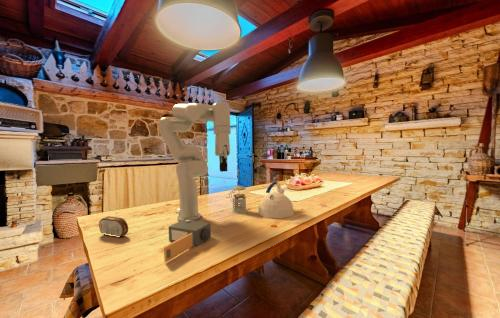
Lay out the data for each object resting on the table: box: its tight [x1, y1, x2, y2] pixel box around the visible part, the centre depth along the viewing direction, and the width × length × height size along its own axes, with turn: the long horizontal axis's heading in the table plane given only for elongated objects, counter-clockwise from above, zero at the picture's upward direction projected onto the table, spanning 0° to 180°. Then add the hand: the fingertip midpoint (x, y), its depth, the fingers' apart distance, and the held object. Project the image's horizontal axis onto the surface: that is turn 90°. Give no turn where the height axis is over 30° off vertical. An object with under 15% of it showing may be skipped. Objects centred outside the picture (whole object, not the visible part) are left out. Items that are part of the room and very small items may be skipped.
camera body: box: [168, 219, 212, 247], centre depth 88 cm, size 15×10×7 cm, turn 66°
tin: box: [98, 216, 129, 237], centre depth 94 cm, size 15×3×8 cm, turn 71°
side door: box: [163, 233, 194, 263], centre depth 75 cm, size 13×1×5 cm, turn 152°
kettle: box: [257, 181, 295, 220], centre depth 120 cm, size 20×21×18 cm
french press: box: [228, 169, 249, 215], centre depth 125 cm, size 10×12×25 cm
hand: (223, 171), depth 96 cm, fingers closed
